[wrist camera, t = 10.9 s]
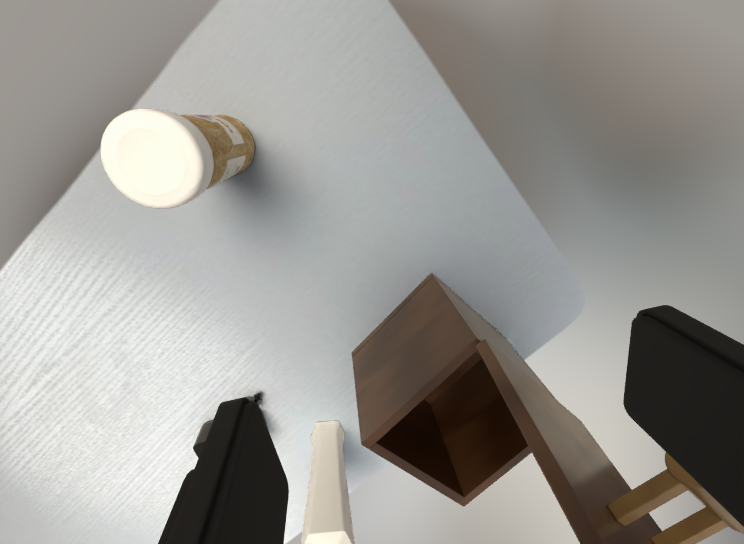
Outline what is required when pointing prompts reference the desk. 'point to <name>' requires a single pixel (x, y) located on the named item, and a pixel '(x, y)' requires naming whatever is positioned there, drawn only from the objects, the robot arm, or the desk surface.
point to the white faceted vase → (327, 489)
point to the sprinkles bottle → (173, 154)
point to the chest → (437, 394)
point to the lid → (597, 471)
